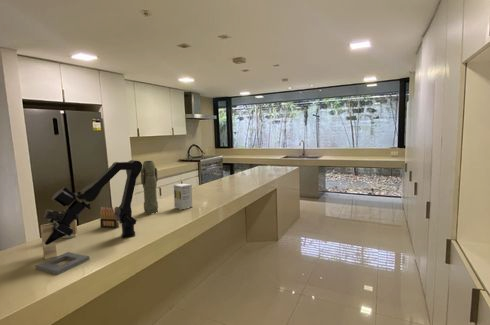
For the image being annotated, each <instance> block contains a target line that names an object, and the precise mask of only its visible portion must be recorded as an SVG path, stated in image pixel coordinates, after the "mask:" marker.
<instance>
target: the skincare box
mask: <svg viewBox="0 0 490 325" xmlns="http://www.w3.org/2000/svg"><path fill="white" fill-rule="evenodd" d="M77 220H78V219H77ZM77 220H74V221H73V222H72V223H71V224H70V226H71V227H70V228H71V229H73V233H72V234H71V235H70V236H68V235H66V236H63V237H61V238H62V239H70V238H77V236H78V223H77V222H78V221H77Z"/></svg>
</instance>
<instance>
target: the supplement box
mask: <svg viewBox="0 0 490 325" xmlns="http://www.w3.org/2000/svg"><path fill="white" fill-rule="evenodd" d="M192 186H193V185H192V184H190V183H178V184H173V197H174V198H173V201H174V208H175V207H176V208H175V209H177V208H179V209H178V210H180V209H184V210H186V209H185V208H188V207H192V208H193V190H192V189H193V188H192ZM188 209H189V208H188Z"/></svg>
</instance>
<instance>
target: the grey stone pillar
mask: <svg viewBox="0 0 490 325" xmlns="http://www.w3.org/2000/svg"><path fill="white" fill-rule="evenodd" d="M155 165H156V164H155V163H154V161H153V160H145V161H143V163H142V169H141V172H140V183H141V185H142V188H143V198H144V202H143V210H144V214H145V213H146V214H145V215H152V214H151V213H154V214H157V213H159V210H158V209H159V203H158V199H157V198H158V197H157V187H158V185H157V183H158V181H159V180H158V169H157V167H155ZM156 212H157V213H156Z"/></svg>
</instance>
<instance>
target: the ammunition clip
mask: <svg viewBox="0 0 490 325" xmlns="http://www.w3.org/2000/svg"><path fill="white" fill-rule="evenodd" d="M116 207H117V206H114V207H113V206H112V207H110V206H106V207H105V206H101V207H100V219H99V221H100V228H102V229H104V228H105V229H119V227H120V226H119V224H120V222H119V221H118V220H117V219H116V218H115V215H114V213H115V211H116Z"/></svg>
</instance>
